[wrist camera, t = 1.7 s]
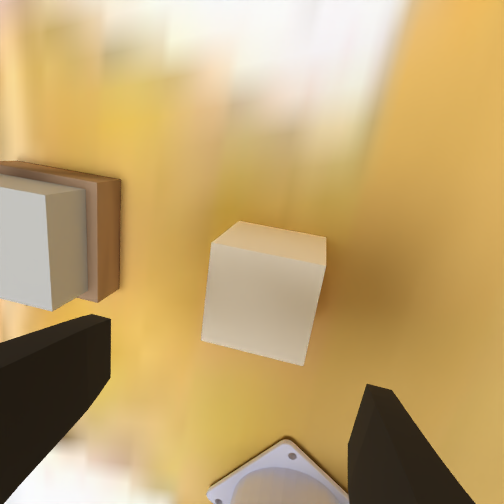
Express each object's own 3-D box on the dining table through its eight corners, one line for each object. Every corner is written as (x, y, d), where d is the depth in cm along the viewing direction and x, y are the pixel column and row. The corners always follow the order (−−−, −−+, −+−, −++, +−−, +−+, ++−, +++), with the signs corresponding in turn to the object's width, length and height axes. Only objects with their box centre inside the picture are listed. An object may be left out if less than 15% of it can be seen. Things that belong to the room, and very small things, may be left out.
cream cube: (326, 236, 17) (326, 265, 12) (308, 315, 18) (303, 366, 14) (239, 220, 17) (211, 242, 13) (229, 297, 19) (200, 340, 14)
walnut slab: (126, 178, 18) (96, 182, 16) (123, 285, 20) (97, 302, 18) (25, 160, 19) (-17, 161, 17) (32, 263, 21) (-4, 277, 19)
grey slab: (85, 189, 16) (45, 195, 14) (87, 290, 18) (52, 311, 16) (-10, 171, 17) (-63, 175, 15) (1, 270, 19) (-45, 287, 17)
